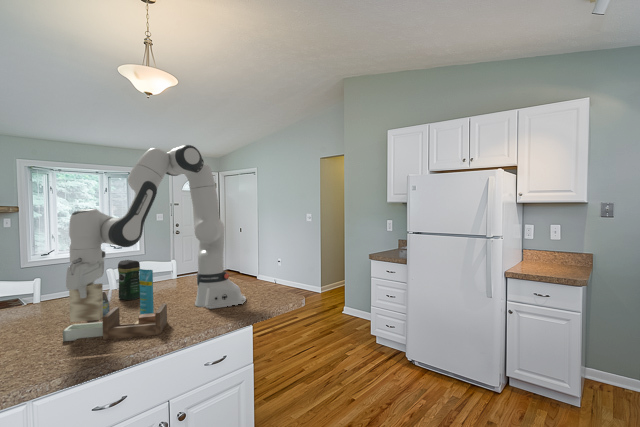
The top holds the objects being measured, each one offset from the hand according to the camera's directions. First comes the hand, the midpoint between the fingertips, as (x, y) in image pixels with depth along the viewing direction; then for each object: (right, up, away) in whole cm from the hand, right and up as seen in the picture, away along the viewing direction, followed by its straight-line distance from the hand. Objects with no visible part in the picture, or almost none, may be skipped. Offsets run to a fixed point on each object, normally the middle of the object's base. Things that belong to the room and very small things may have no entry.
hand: (86, 296), depth 113 cm
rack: (+16, -14, +3) cm, 21 cm away
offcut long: (+17, -13, +6) cm, 23 cm away
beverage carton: (-14, -14, +27) cm, 33 cm away
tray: (0, -14, 0) cm, 14 cm away
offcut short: (+18, -11, +6) cm, 22 cm away
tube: (+10, -13, +20) cm, 26 cm away
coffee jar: (-12, -13, +46) cm, 49 cm away
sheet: (0, -8, 0) cm, 8 cm away
